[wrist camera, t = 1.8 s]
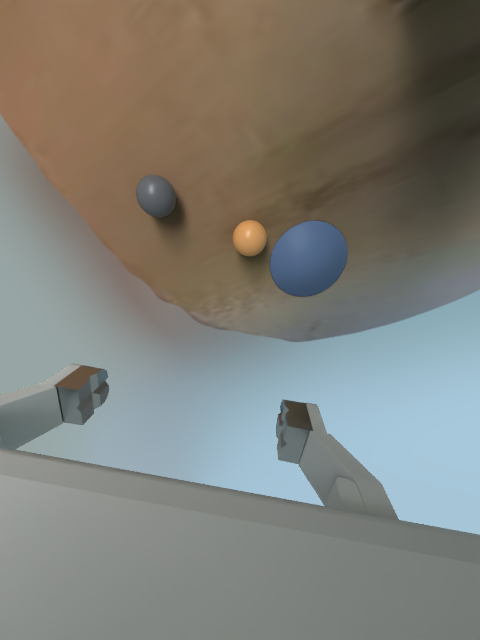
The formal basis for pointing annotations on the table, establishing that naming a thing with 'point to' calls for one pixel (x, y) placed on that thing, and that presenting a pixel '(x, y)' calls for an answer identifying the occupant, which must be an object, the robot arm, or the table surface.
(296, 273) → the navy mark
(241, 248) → the orange ball
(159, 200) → the charcoal ball
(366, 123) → the table surface
